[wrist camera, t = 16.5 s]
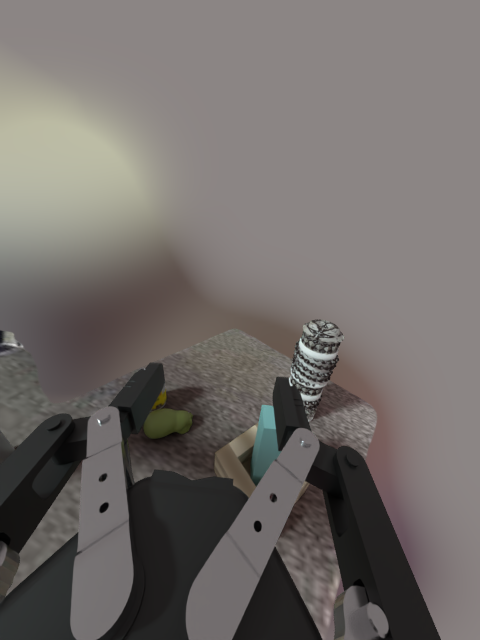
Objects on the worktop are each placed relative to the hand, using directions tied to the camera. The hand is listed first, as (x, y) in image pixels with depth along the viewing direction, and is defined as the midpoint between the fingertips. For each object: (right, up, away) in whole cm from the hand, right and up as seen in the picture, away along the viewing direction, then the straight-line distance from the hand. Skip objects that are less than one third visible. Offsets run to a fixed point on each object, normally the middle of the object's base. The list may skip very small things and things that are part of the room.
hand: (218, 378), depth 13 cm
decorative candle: (+17, -19, +37) cm, 45 cm away
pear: (-14, -20, +29) cm, 38 cm away
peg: (+5, -24, +21) cm, 32 cm away
